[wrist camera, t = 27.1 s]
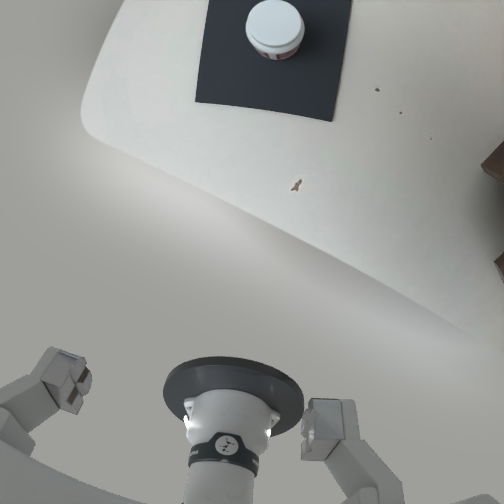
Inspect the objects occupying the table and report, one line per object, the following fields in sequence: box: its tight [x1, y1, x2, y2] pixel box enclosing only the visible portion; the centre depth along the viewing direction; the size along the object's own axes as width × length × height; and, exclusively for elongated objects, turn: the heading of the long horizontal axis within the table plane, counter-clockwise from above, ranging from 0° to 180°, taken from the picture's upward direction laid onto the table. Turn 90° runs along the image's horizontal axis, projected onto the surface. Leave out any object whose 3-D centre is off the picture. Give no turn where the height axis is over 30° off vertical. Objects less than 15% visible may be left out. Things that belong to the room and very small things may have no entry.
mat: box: [195, 0, 351, 122], centre depth 26 cm, size 16×14×1 cm
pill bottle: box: [246, 0, 305, 60], centre depth 22 cm, size 5×5×8 cm
